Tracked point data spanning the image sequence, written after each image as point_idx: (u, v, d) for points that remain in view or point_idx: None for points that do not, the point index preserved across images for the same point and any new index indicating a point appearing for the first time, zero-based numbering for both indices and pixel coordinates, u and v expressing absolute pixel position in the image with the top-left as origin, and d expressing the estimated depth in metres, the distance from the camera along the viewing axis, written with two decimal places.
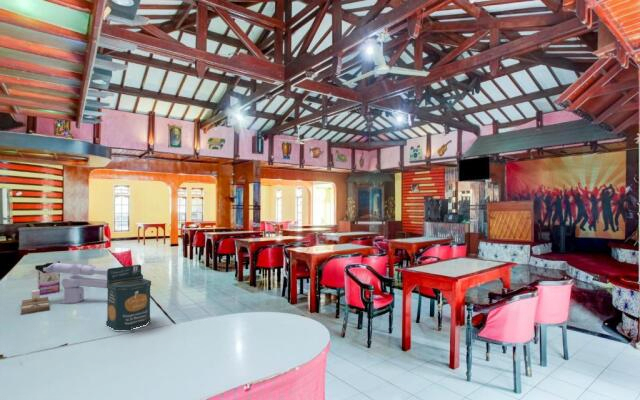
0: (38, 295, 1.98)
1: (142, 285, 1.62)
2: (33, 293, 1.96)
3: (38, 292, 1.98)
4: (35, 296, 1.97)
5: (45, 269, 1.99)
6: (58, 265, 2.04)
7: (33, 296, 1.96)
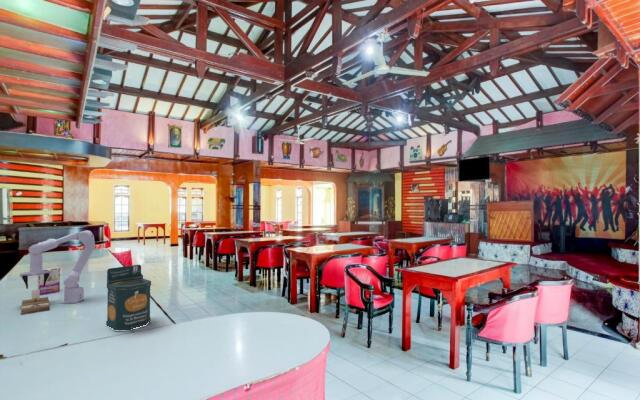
0: (38, 295, 1.98)
1: (142, 285, 1.62)
2: (33, 293, 1.96)
3: (38, 292, 1.98)
4: (35, 296, 1.97)
5: None
6: None
7: (33, 296, 1.96)
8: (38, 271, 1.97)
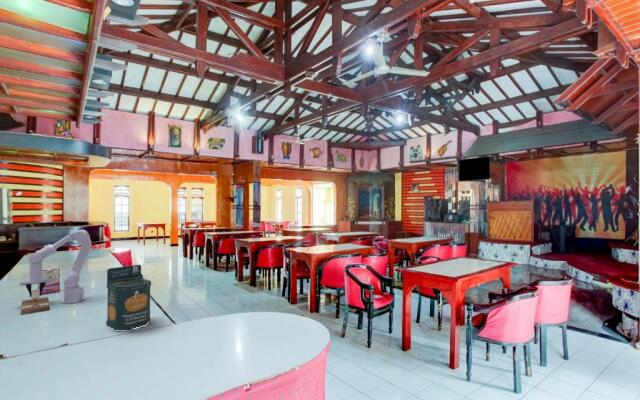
0: (38, 295, 1.98)
1: (142, 285, 1.62)
2: (33, 293, 1.96)
3: (38, 292, 1.98)
4: (35, 296, 1.97)
5: (19, 283, 1.94)
6: None
7: (33, 296, 1.96)
8: (38, 280, 1.97)
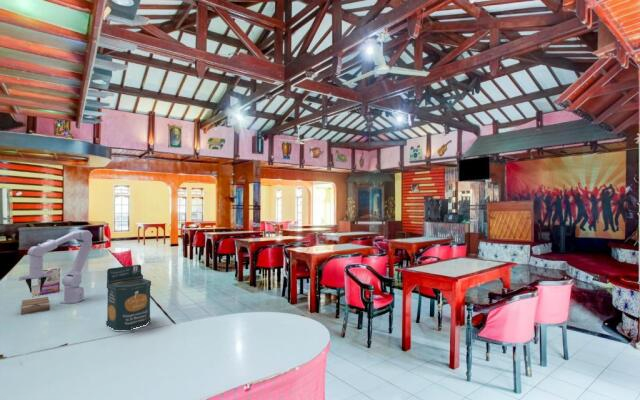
0: (38, 291, 1.89)
1: (142, 285, 1.62)
2: (33, 288, 1.87)
3: (38, 287, 1.89)
4: (35, 292, 1.88)
5: None
6: None
7: (33, 292, 1.87)
8: (38, 274, 1.88)
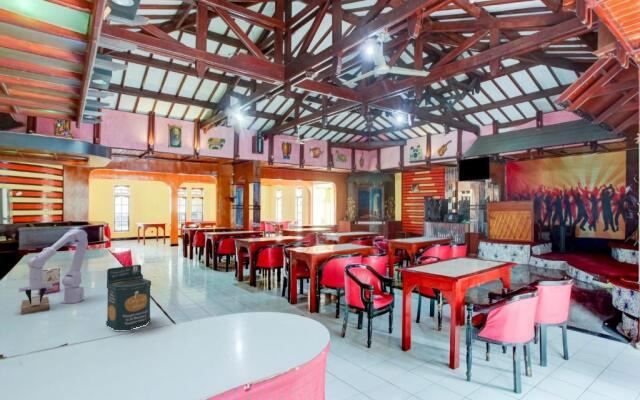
0: (38, 302, 1.89)
1: (142, 285, 1.62)
2: (33, 300, 1.87)
3: (38, 298, 1.89)
4: (35, 303, 1.88)
5: None
6: None
7: (33, 303, 1.87)
8: (38, 286, 1.88)
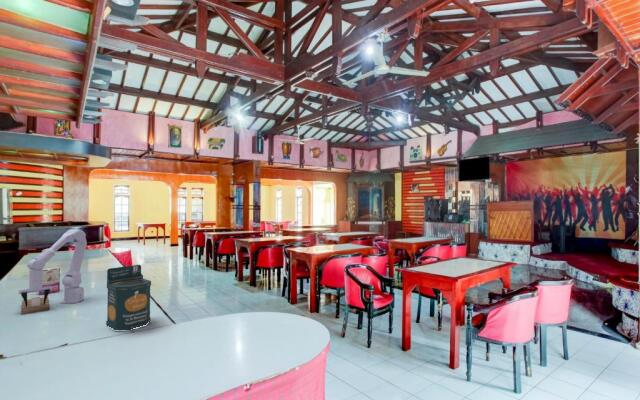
0: (38, 303, 1.89)
1: (142, 285, 1.62)
2: (33, 301, 1.87)
3: (38, 300, 1.89)
4: (35, 304, 1.88)
5: None
6: None
7: (33, 304, 1.87)
8: (38, 288, 1.88)
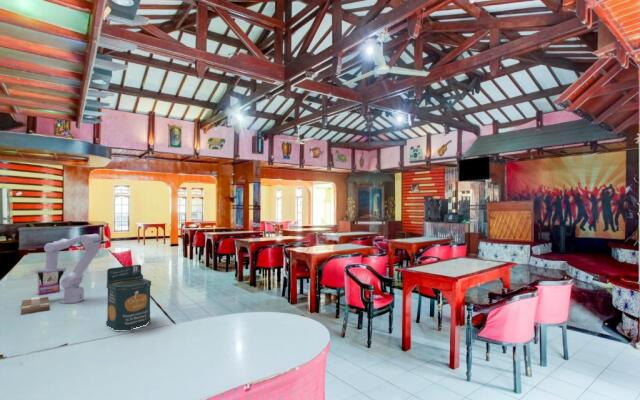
0: (38, 303, 1.89)
1: (142, 285, 1.62)
2: (33, 301, 1.87)
3: (38, 300, 1.89)
4: (35, 304, 1.88)
5: None
6: None
7: (33, 304, 1.87)
8: (53, 268, 2.06)
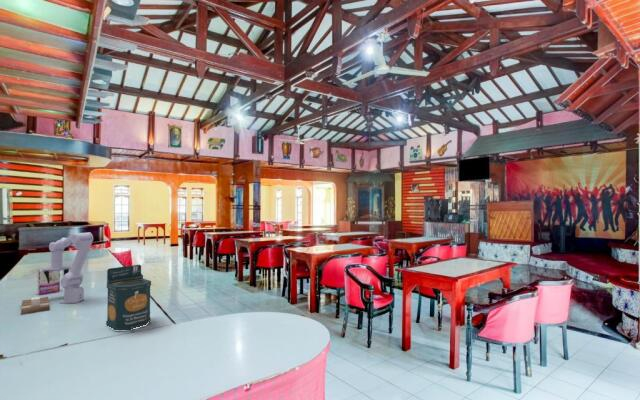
0: (38, 303, 1.89)
1: (142, 285, 1.62)
2: (33, 301, 1.87)
3: (38, 300, 1.89)
4: (35, 304, 1.88)
5: None
6: None
7: (33, 304, 1.87)
8: (59, 267, 2.11)
